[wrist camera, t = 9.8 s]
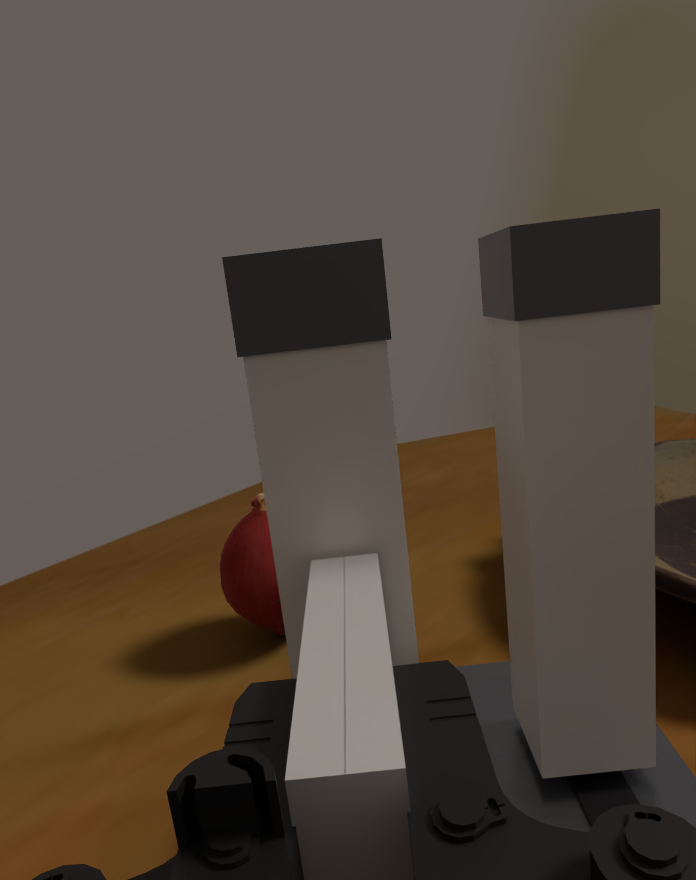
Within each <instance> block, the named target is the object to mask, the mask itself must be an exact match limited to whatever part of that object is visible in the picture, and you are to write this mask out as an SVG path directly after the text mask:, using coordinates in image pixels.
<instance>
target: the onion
mask: <svg viewBox="0 0 696 880" xmlns="http://www.w3.org/2000/svg"><path fill="white" fill-rule="evenodd" d="M250 503H251V505H252V506H253V508H252V511H251V512H250V513H249V514H248V515H246V516H245V517H244V518H243V519H242V520H241V521H240V522H239V523H238V524H237V525H236V527H235V528H234V529H233V531H232V532H231V534H230V535H229V537H228V539H227V541H226V543H225V545H224V548H223V551H222V554H221V562H220V573H221V587H222V589H223V592H224V595H225V598H226V601H227V602H228V603H229V604H230V605H231V607H232V608H233V609H234V610H235V612H237V613H238V614H239V615H241V616H242V617H243V618H245V619H247V620H248V621H250V622H252V623H253V624H256V625H259V626H262V627H264V628H266V629H269V630H270V631H272V632H273V633H275V634H278V635H285V628H284V622H283V615H282V608H281V602H280V595H279V589H278V582H277V576H276V569H275V562H274V556H273V549H272V543H271V536H270V530H269V523H268V516H267V510H266V503H265V497H264V493H263V494H258V495H257V496H256V497H255V498H254V499H253V500H252V501H251V502H250Z"/></svg>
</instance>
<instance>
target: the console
mask: <svg viewBox="0 0 696 880" xmlns="http://www.w3.org/2000/svg"><path fill="white" fill-rule="evenodd" d="M455 668H456V669H457V670H459V671H460V672H461V673H462V674H463V675H464V676H465V679H466V682H467V685H468V689H469V692H470V695H471V700H472V701H473V704H474V708H475V711H476V715H477V718H478V720H479V723H480V727H481V730H482V733H483V736H484V739H485V742H486V746H487V749H488V752H489V755H490V758H491V761H492V765H493V768H494V771H495V774H496V777H497V780H498V783H499V785H500V788H501V790H502V792H503V794H504V795H505V796H507V797H508V799H509V801H510V802H511V803H512V805H513V806H515V807H516V808H517V809H519V810H520V811H521V812H523V813H524V814H525V815H527V816H529V817H531V818H533V819H535V820H537V821H539V822H542V823H545V824H549V825H552V826H556V827H560V828H566V829H572V830H577V831H583V832H589V833H590V829H591V827H592V826H593V824H594V822H595V821H596V819H597V817H598V816H599V815H601V814H602V813H604V812H606V811H608V810H609V809H611V808H613V807H616V806H623V805H631V804H639V805H646V806H652V807H658V808H661V809H663V810H666V811H668V812H670V813H673V814H675V815H677V816H680V817H682V818H683V819H685V820H686V821H687V822H689V823H690V824H691V825H693V826H694V827H695V828H696V778H695V776H694V775H693V774H692V772H691V771H690V769H689V768H688V767H687V765H686V764H685V763H684V761H683V760H682V758H681V757H680V756H679V754H678V753H677V752H676V750H675V749H674V747H673V746H672V745H671V743H670V742H669V741H668V739H667V738H666V736H665V735H664V734H663V732H662V731H661V730H660V728H659V727H658V725H657V724H656V767H649V768H639V769H630V770H620V771H611V772H601V773H591V774H582V775H572V776H563V777H553V778H544V779H543V778H542V776H541V774H540V771H539V769H538V766H537V764H536V761H535V759H534V757H533V754H532V752H531V749H530V747H529V744H528V742H527V740H526V737H525V735H524V732H523V730H522V727H521V725H520V723H519V720H518V718H517V715H516V713H515V711H514V708H513V700H512V685H511V669H510V661H507V662H498V663H488V664H479V665H470V666H461V667H455Z"/></svg>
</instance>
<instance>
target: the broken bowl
mask: <svg viewBox="0 0 696 880" xmlns="http://www.w3.org/2000/svg"><path fill="white" fill-rule="evenodd" d="M654 479H655V589H658V590H660V591H663V592H665V593H667V594H670V595H673V596H675V597H678V598H680V599H683V600H686V601H689V602H691V603H694V604H696V439H695V438H691V439H681V440H667V441H664V442H658V443H654Z"/></svg>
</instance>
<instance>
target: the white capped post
mask: <svg viewBox="0 0 696 880" xmlns="http://www.w3.org/2000/svg"><path fill="white" fill-rule="evenodd" d="M478 243H479V258H480V273H481V288H482V302H483V303H482V304H483V316H487V317H488V326H489V341H490V356H491V373H492V388H493V403H494V419H495V435H496V451H497V466H498V482H499V497H500V513H501V529H502V544H503V560H504V575H505V591H506V607H507V622H508V638H509V654H510V669H511V685H512V700H513V708H514V711H515V713H516V715H517V718H518V720H519V723H520V725H521V727H522V730H523V732H524V735H525V737H526V740H527V742H528V744H529V747H530V749H531V752H532V754H533V757H534V759H535V761H536V764H537V766H538V769H539V771H540V774H541V776H542V778H543V779H544V778H553V777H563V776H572V775H582V774H591V773H601V772H611V771H620V770H630V769H639V768H649V767H656V648H655V479H654V327H653V326H654V322H653V321H654V316H653V315H654V313H653V311H654V310H653V305H657V304H660V209H652V210H644V211H635V212H627V213H619V214H610V215H602V216H593V217H585V218H577V219H568V220H560V221H552V222H543V223H535V224H527V225H519V226H510V227H507V228H505V229H502V230H499V231H497V232H494V233H492V234H489V235H487V236H484V237H482V238H479V239H478Z"/></svg>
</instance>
